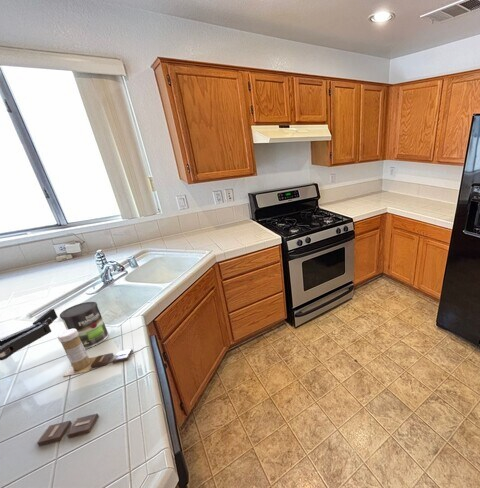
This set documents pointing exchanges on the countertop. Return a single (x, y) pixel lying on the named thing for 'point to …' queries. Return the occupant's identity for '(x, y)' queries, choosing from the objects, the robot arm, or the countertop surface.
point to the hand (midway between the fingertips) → (23, 318)
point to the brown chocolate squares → (59, 430)
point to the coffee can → (86, 323)
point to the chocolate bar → (102, 361)
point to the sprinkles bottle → (74, 349)
